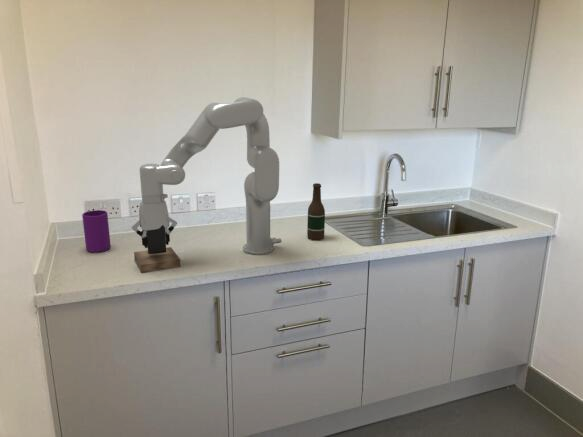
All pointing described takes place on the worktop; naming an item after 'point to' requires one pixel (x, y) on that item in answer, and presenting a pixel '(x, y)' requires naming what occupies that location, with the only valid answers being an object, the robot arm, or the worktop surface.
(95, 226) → the mug
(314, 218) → the beer bottle
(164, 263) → the plinth
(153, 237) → the battery charger
